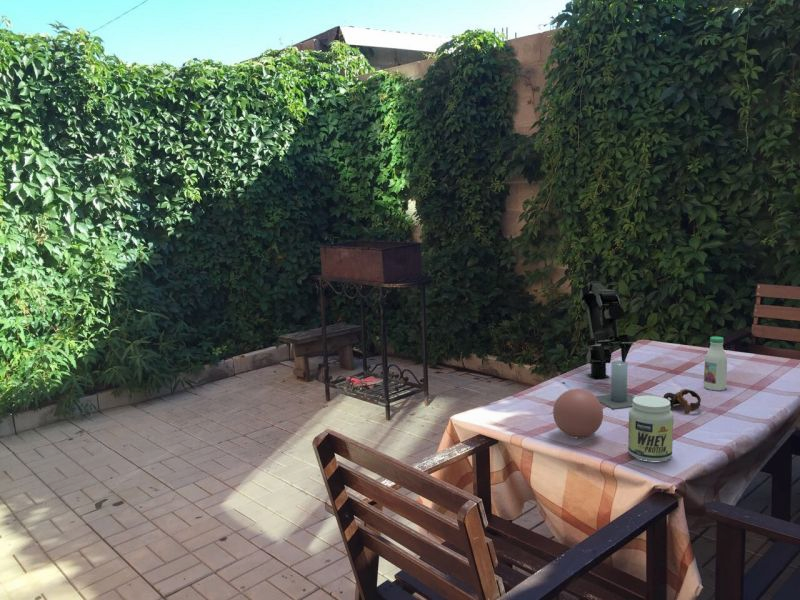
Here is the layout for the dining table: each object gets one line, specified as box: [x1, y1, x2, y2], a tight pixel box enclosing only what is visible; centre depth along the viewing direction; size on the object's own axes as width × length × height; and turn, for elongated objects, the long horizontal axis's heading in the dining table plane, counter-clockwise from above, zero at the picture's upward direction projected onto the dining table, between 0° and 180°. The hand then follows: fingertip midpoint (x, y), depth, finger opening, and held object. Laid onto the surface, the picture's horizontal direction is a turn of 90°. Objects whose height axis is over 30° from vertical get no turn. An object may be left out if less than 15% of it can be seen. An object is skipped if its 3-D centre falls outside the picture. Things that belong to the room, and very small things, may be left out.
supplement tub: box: [627, 395, 674, 462], centre depth 188 cm, size 12×12×17 cm
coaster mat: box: [594, 393, 636, 410], centre depth 237 cm, size 14×14×1 cm
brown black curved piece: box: [662, 388, 702, 415], centre depth 225 cm, size 12×10×8 cm
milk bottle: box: [703, 336, 728, 392], centre depth 245 cm, size 8×8×20 cm
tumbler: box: [610, 360, 629, 402], centre depth 236 cm, size 6×6×14 cm
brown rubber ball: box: [552, 388, 604, 439], centre depth 207 cm, size 15×20×15 cm
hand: (612, 362), depth 247 cm, fingers open, 9 cm apart
